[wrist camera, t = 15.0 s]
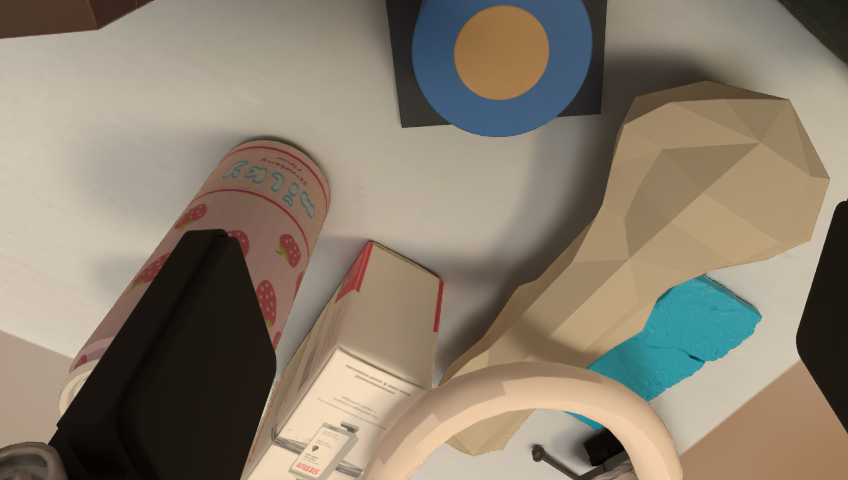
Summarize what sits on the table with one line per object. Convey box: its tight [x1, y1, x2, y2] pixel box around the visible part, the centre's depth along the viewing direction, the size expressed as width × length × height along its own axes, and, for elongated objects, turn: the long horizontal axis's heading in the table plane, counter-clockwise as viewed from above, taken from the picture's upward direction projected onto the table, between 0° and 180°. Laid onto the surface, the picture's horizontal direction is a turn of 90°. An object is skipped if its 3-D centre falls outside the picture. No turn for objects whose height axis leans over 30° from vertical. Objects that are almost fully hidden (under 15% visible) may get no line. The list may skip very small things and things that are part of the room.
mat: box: [386, 0, 607, 128], centre depth 26 cm, size 9×9×1 cm
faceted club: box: [438, 81, 830, 456], centre depth 30 cm, size 9×9×25 cm
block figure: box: [576, 430, 634, 480], centre depth 39 cm, size 6×2×6 cm
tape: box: [412, 0, 593, 137], centre depth 24 cm, size 6×6×5 cm
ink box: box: [240, 242, 444, 480], centre depth 33 cm, size 9×5×12 cm
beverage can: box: [59, 140, 330, 417], centre depth 25 cm, size 6×6×15 cm
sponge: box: [564, 275, 762, 430], centre depth 36 cm, size 2×12×6 cm
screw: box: [532, 447, 578, 480], centre depth 42 cm, size 8×1×1 cm, turn 48°
